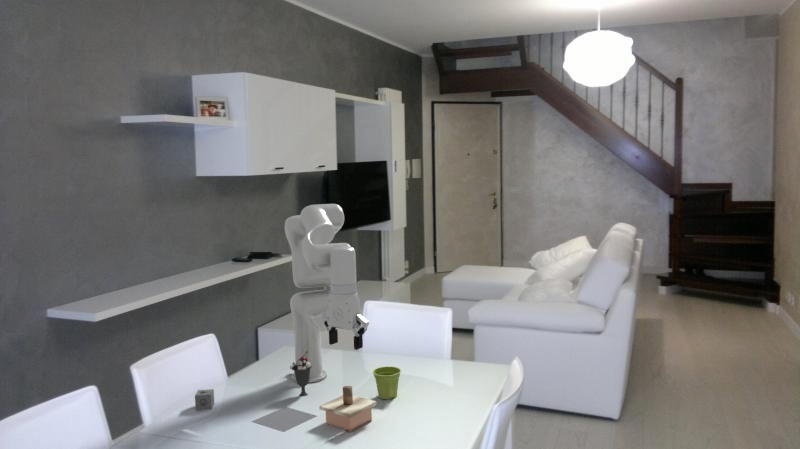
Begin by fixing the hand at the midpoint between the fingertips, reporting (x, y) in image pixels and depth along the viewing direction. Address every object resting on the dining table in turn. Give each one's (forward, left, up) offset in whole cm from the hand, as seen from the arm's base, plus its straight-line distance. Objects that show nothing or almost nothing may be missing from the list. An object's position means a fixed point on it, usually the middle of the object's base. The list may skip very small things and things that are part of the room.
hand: (345, 346), depth 193 cm
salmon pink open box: (0, 0, -24) cm, 24 cm away
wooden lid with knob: (0, 0, -19) cm, 19 cm away
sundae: (-28, +9, -24) cm, 38 cm away
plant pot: (-4, +24, -24) cm, 34 cm away
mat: (-18, -9, -24) cm, 31 cm away
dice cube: (-48, -15, -24) cm, 56 cm away
